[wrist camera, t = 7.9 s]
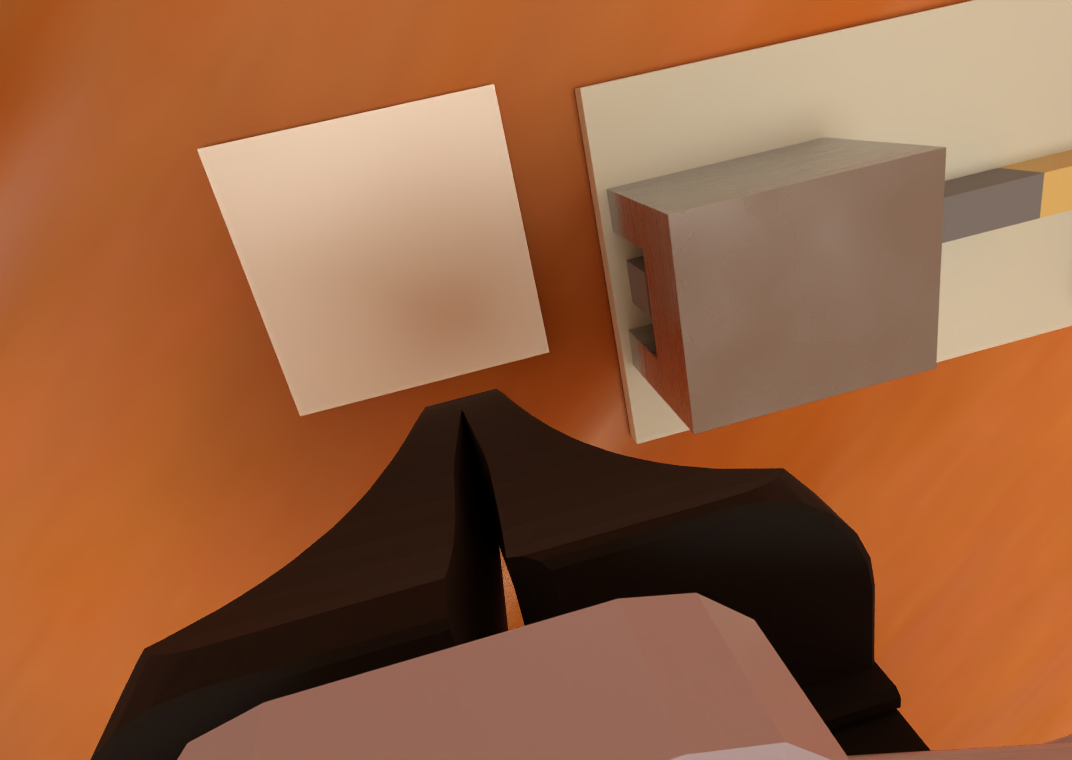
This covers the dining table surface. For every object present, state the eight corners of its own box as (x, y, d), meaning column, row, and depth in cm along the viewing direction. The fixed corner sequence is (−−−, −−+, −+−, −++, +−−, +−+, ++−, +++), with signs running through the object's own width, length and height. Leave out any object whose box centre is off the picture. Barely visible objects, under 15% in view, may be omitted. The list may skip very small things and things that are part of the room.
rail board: (1094, 309, 22) (1213, 344, 19) (630, 435, 21) (673, 497, 18) (1144, -39, 18) (1307, -70, 15) (574, 88, 17) (615, 85, 14)
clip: (828, 314, 20) (936, 368, 16) (633, 365, 19) (693, 433, 15) (824, 137, 18) (946, 147, 14) (606, 188, 17) (667, 214, 13)
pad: (546, 347, 19) (549, 352, 19) (302, 410, 19) (300, 416, 18) (491, 84, 16) (493, 83, 16) (201, 147, 16) (196, 148, 16)
